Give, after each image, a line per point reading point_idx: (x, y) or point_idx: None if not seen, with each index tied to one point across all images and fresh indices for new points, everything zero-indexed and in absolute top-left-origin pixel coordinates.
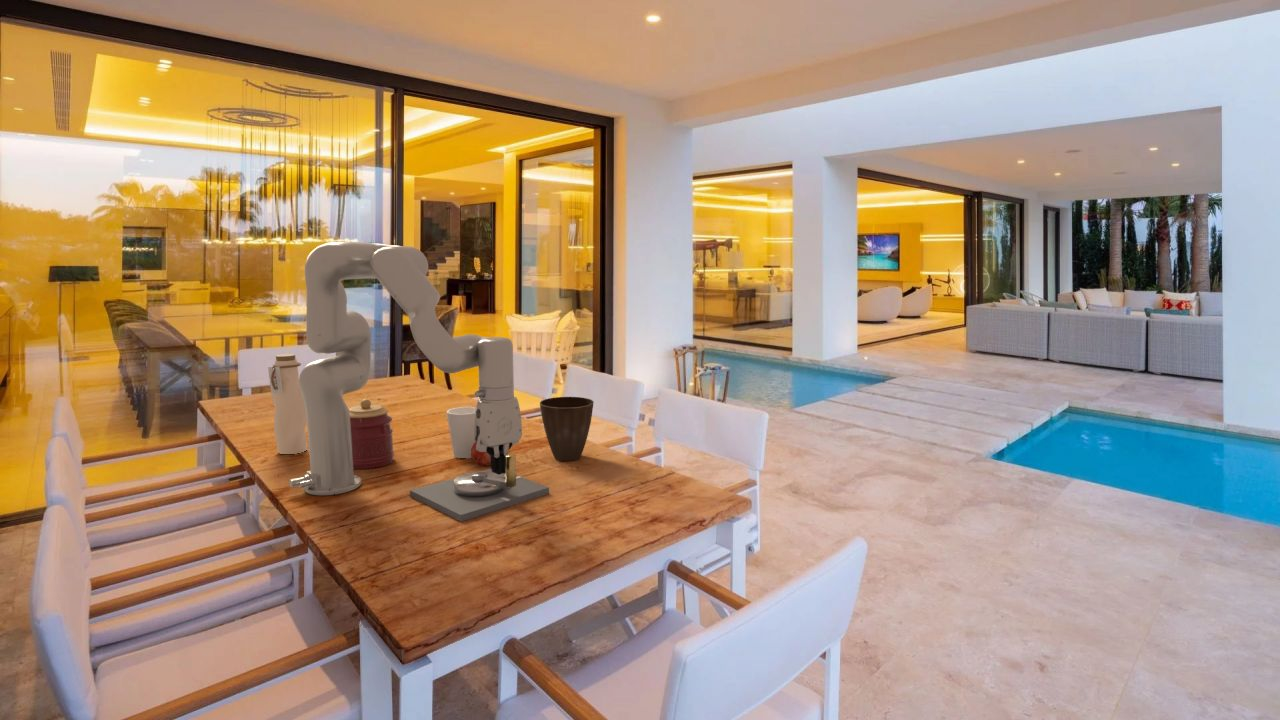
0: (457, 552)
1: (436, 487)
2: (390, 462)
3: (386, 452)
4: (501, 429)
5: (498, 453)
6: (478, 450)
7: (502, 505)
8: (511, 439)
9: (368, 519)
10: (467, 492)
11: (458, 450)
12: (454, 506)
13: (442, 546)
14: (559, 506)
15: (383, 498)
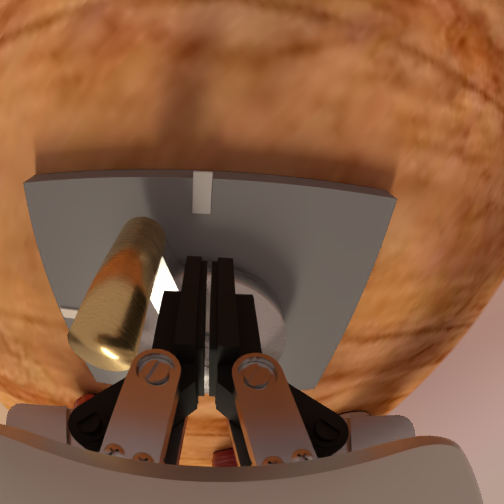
0: (489, 72)
1: None
2: (226, 450)
3: (235, 464)
4: None
5: (245, 385)
6: (406, 424)
7: (228, 175)
8: (84, 492)
9: (425, 330)
10: (279, 308)
11: None
12: (352, 266)
13: (487, 121)
14: (76, 46)
15: (341, 386)
